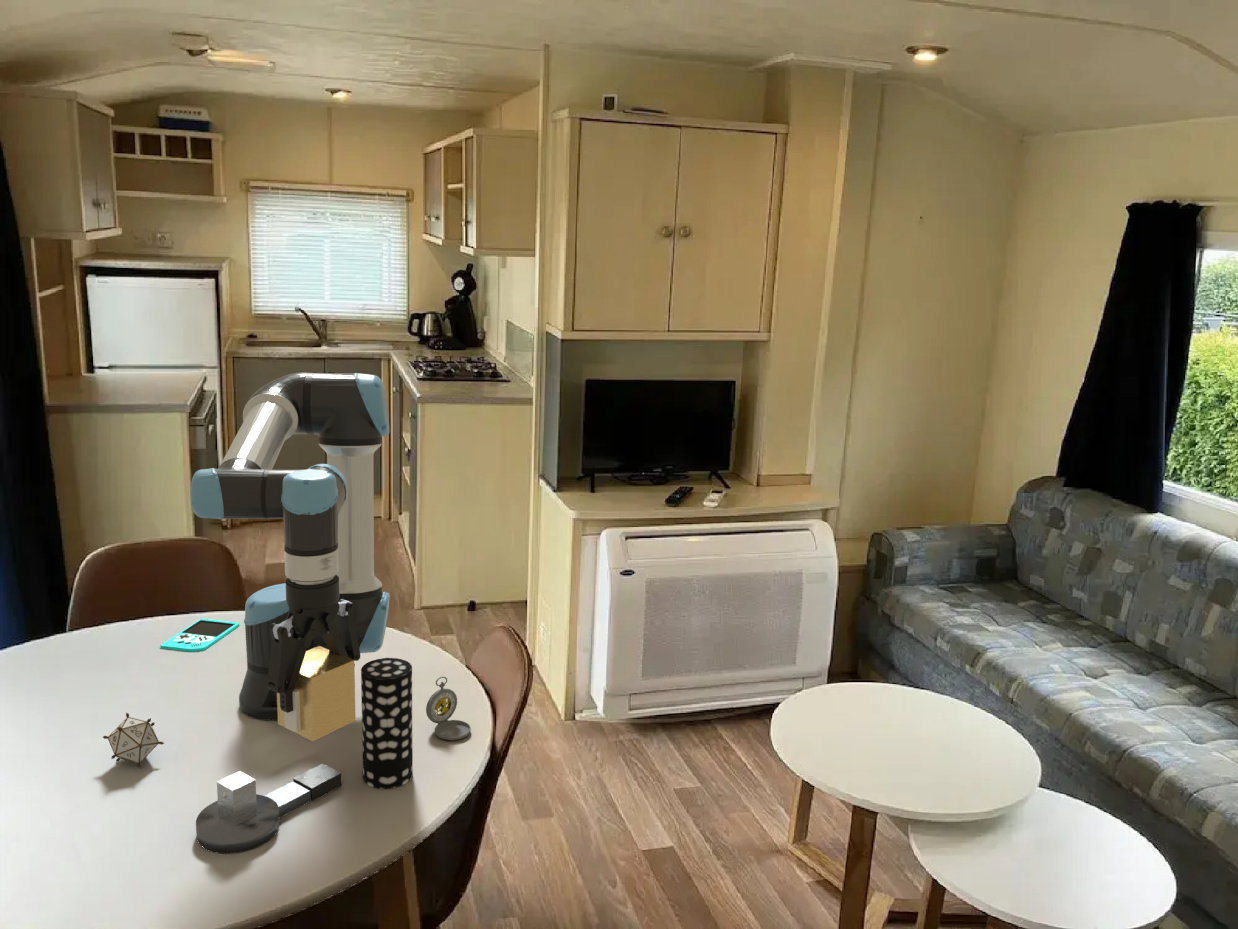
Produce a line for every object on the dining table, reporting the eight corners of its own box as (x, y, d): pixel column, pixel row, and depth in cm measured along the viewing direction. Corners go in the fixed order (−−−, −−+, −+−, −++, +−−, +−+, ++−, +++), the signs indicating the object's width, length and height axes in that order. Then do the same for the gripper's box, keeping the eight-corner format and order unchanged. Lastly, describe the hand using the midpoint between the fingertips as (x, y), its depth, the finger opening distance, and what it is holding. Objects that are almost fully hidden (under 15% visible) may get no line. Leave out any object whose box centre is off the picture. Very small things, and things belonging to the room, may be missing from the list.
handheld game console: (158, 650, 216) (158, 644, 216) (200, 622, 232) (200, 617, 231) (201, 655, 215) (200, 649, 215) (240, 627, 230) (240, 621, 230)
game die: (149, 777, 174) (183, 734, 173) (111, 784, 166) (147, 739, 165) (120, 741, 177) (154, 698, 176) (82, 746, 169) (117, 702, 168)
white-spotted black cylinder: (388, 794, 165) (386, 684, 160) (352, 778, 169) (350, 670, 165) (422, 773, 172) (422, 666, 167) (387, 758, 176) (386, 653, 172)
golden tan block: (278, 724, 150) (275, 663, 147) (321, 705, 156) (319, 646, 154) (312, 741, 145) (310, 678, 143) (355, 720, 152) (354, 660, 149)
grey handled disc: (309, 769, 172) (307, 724, 170) (355, 793, 165) (354, 747, 163) (180, 833, 152) (177, 783, 150) (227, 864, 146) (224, 812, 144)
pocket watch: (463, 744, 182) (463, 694, 180) (420, 738, 184) (420, 688, 181) (478, 723, 190) (478, 675, 188) (436, 717, 191) (436, 669, 189)
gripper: (267, 602, 135) (274, 754, 140) (384, 564, 151) (385, 700, 157) (233, 589, 139) (241, 737, 144) (351, 553, 156) (353, 686, 161)
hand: (316, 717), depth 150 cm, fingers closed on golden tan block, 8 cm apart
